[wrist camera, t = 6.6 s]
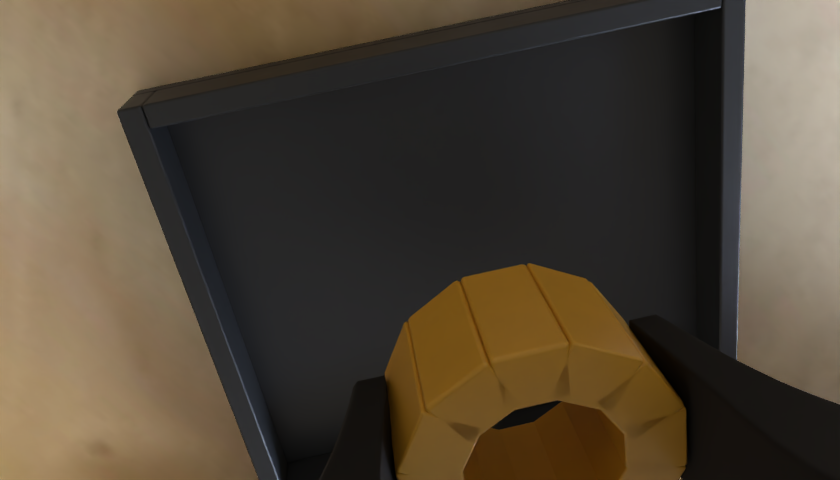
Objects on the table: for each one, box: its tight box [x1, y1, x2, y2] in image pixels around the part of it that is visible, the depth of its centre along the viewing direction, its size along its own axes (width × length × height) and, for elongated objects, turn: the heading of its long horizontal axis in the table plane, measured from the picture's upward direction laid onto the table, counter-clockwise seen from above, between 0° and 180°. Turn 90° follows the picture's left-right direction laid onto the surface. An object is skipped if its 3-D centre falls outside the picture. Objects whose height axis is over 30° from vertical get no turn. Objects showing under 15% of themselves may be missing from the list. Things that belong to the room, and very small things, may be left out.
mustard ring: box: [385, 263, 687, 480], centre depth 14 cm, size 5×5×3 cm
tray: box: [117, 0, 746, 480], centre depth 20 cm, size 15×13×2 cm
